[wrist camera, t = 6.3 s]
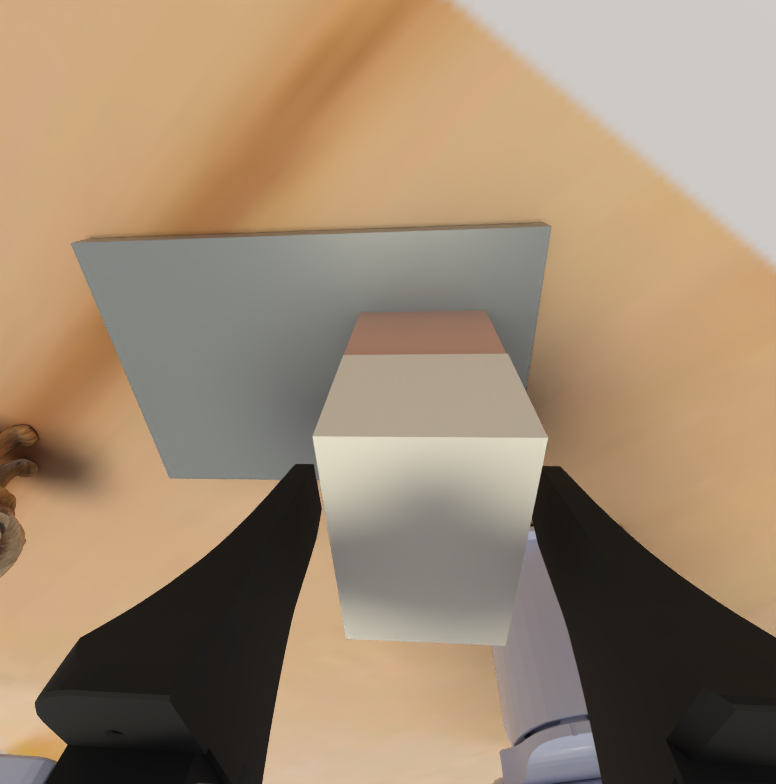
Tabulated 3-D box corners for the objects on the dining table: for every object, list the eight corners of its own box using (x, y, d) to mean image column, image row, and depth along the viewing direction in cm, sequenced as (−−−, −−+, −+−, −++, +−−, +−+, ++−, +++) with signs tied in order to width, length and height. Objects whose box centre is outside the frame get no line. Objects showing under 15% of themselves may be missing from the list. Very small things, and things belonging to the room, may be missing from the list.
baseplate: (507, 469, 21) (511, 482, 20) (179, 465, 22) (169, 478, 21) (543, 222, 15) (551, 226, 14) (89, 238, 16) (70, 242, 15)
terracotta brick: (472, 467, 20) (485, 536, 16) (371, 466, 20) (362, 533, 16) (485, 310, 16) (506, 355, 12) (359, 312, 16) (342, 357, 12)
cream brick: (485, 535, 16) (505, 645, 12) (361, 532, 16) (346, 638, 13) (507, 353, 12) (548, 437, 8) (343, 355, 12) (312, 436, 9)
